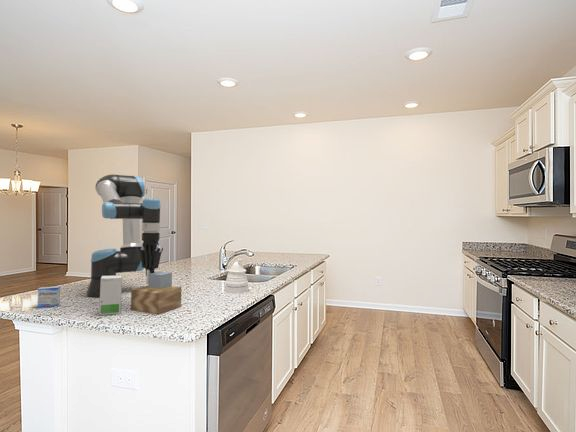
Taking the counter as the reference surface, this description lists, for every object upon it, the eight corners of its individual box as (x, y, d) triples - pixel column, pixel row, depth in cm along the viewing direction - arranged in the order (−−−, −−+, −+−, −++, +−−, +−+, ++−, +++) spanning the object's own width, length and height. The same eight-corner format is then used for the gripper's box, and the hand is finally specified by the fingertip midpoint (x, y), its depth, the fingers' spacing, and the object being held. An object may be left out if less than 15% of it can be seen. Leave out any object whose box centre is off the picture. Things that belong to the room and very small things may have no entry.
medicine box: (37, 308, 150) (37, 288, 150) (39, 306, 154) (39, 286, 154) (58, 306, 153) (58, 287, 153) (60, 304, 157) (60, 285, 157)
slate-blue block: (148, 289, 151) (148, 273, 151) (159, 286, 157) (160, 271, 157) (160, 291, 148) (160, 275, 148) (171, 287, 155) (172, 272, 155)
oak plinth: (130, 309, 150) (131, 289, 150) (154, 302, 163) (154, 283, 163) (158, 314, 144) (159, 293, 144) (181, 306, 157) (181, 287, 157)
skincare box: (98, 315, 141) (99, 278, 140) (100, 311, 147) (101, 275, 147) (121, 313, 144) (121, 277, 144) (122, 309, 150) (122, 274, 150)
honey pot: (252, 290, 192) (253, 258, 192) (237, 294, 182) (238, 261, 182) (235, 287, 199) (236, 257, 199) (220, 291, 189) (220, 259, 188)
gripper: (133, 231, 154) (132, 283, 154) (155, 232, 149) (154, 286, 149) (146, 231, 161) (145, 281, 161) (167, 232, 156) (166, 283, 156)
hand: (149, 283), depth 155 cm, fingers closed
